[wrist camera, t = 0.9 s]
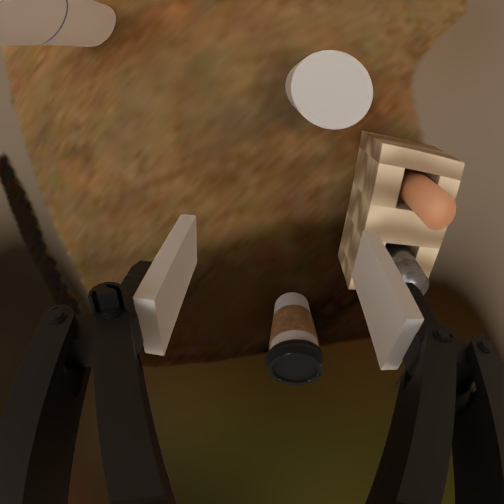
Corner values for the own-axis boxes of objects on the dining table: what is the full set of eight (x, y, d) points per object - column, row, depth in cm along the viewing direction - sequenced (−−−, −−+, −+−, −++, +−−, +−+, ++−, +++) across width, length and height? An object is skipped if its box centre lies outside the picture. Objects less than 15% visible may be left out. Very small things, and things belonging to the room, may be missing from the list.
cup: (317, 47, 34) (335, 34, 24) (357, 92, 37) (388, 97, 26) (272, 84, 37) (273, 84, 27) (313, 128, 40) (329, 145, 29)
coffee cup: (307, 325, 58) (314, 390, 45) (263, 318, 57) (260, 385, 44) (321, 290, 53) (333, 356, 40) (272, 282, 53) (272, 349, 40)
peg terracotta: (398, 165, 36) (428, 189, 28) (426, 171, 35) (460, 196, 28) (391, 196, 38) (417, 227, 30) (419, 201, 38) (449, 232, 30)
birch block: (361, 130, 39) (382, 143, 32) (434, 146, 39) (465, 163, 31) (337, 254, 50) (348, 288, 42) (403, 260, 49) (422, 293, 42)
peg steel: (381, 234, 41) (403, 271, 33) (408, 238, 41) (434, 274, 33) (373, 262, 43) (391, 302, 35) (400, 264, 43) (421, 303, 35)
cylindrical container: (81, 55, 35) (-49, 65, 13) (71, 19, 31) (-54, 12, 10) (121, 33, 33) (-6, 17, 12) (110, -4, 30) (-11, -38, 8)
